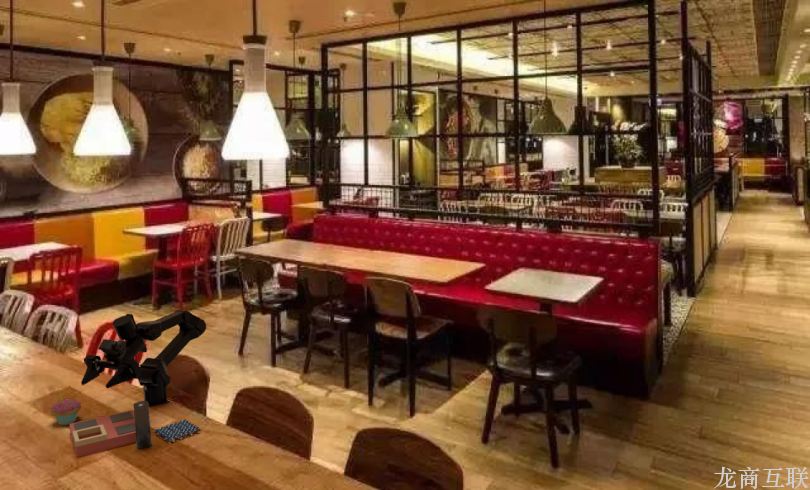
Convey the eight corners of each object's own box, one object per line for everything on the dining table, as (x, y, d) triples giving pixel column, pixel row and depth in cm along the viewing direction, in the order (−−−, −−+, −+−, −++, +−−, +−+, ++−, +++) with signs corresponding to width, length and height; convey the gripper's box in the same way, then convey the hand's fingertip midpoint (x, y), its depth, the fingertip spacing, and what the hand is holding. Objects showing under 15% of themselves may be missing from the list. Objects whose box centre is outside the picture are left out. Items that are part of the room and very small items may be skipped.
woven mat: (152, 435, 185) (152, 429, 184) (185, 424, 192) (185, 418, 192) (168, 446, 178) (168, 439, 177) (202, 434, 185) (201, 427, 185)
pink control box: (133, 418, 196) (132, 405, 195) (145, 439, 181) (144, 425, 180) (70, 433, 186) (69, 419, 185) (77, 456, 171) (75, 441, 170)
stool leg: (150, 441, 180) (146, 399, 178) (153, 446, 176) (149, 404, 174) (135, 445, 177) (132, 402, 176) (138, 450, 174) (134, 407, 172)
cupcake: (69, 428, 189) (65, 391, 187) (45, 426, 191) (41, 390, 189) (88, 417, 197) (85, 381, 196) (65, 415, 199) (62, 380, 197)
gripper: (94, 329, 194) (58, 362, 181) (142, 333, 188) (108, 368, 176) (107, 355, 199) (73, 389, 187) (154, 360, 194) (122, 396, 181)
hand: (94, 385), depth 182 cm, fingers open, 9 cm apart
